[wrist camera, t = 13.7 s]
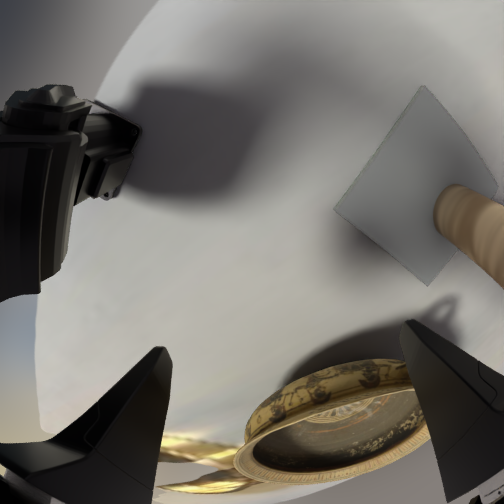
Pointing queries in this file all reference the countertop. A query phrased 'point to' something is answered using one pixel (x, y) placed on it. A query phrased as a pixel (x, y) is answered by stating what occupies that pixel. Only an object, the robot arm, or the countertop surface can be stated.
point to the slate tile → (415, 185)
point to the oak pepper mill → (473, 227)
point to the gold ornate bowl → (334, 425)
